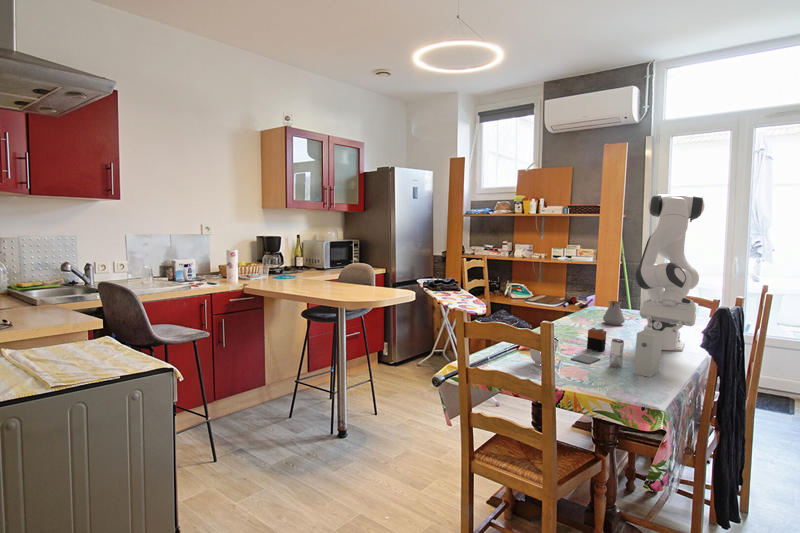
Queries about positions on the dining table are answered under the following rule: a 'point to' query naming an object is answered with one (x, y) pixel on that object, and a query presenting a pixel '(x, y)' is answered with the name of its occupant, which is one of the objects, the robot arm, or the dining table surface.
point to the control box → (648, 352)
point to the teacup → (537, 356)
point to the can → (616, 353)
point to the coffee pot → (614, 314)
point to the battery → (596, 339)
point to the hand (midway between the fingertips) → (661, 329)
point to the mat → (585, 359)
